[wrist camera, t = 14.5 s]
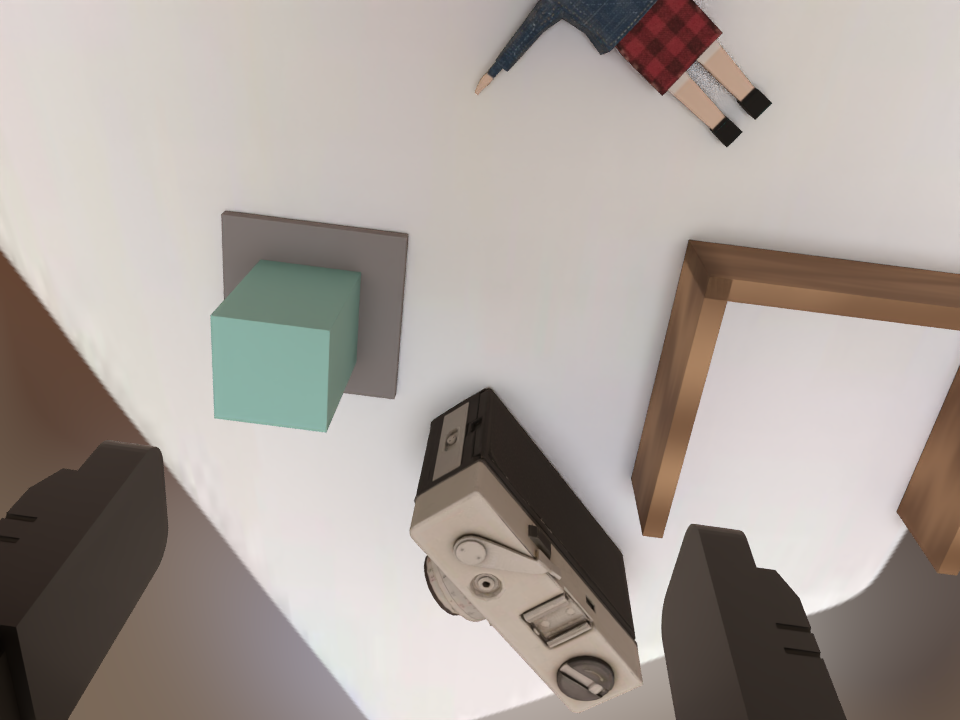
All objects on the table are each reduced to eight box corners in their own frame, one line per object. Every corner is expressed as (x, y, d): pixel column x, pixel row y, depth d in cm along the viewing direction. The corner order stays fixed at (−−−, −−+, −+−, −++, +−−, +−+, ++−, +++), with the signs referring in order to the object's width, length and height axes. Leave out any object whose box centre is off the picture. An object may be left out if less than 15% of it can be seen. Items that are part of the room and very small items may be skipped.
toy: (859, -10, 35) (617, -302, 30) (910, 1, 31) (639, -336, 26) (625, 222, 40) (386, 4, 35) (643, 258, 36) (374, 17, 31)
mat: (225, 211, 39) (221, 214, 39) (408, 234, 39) (406, 237, 39) (230, 372, 43) (226, 378, 43) (395, 393, 43) (394, 399, 43)
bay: (688, 239, 39) (709, 276, 34) (1017, 281, 39) (1081, 323, 34) (631, 478, 45) (642, 535, 41) (914, 514, 45) (957, 575, 41)
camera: (373, 452, 45) (335, 573, 36) (492, 380, 43) (483, 491, 34) (514, 610, 50) (511, 752, 41) (628, 554, 48) (652, 691, 39)
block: (260, 259, 40) (210, 315, 33) (361, 272, 40) (329, 330, 33) (261, 349, 42) (214, 418, 36) (356, 361, 42) (326, 432, 36)
